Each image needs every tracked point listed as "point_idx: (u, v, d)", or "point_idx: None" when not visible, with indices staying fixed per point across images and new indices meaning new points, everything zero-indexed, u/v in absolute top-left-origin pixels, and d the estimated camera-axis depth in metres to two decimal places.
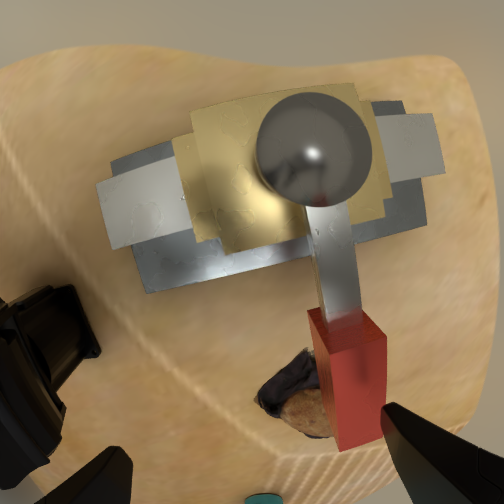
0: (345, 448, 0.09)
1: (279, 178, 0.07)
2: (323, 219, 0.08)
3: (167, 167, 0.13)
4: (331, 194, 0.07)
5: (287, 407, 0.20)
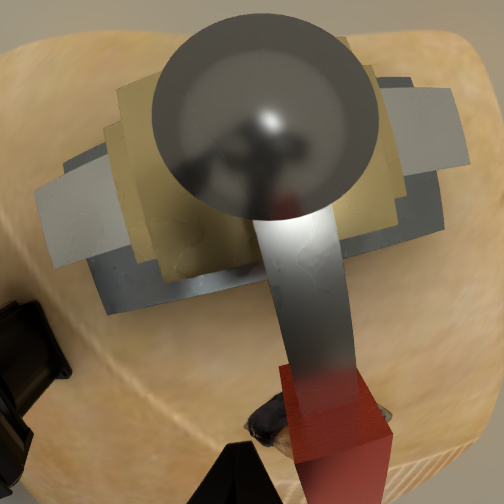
0: None
1: (192, 167, 0.04)
2: (287, 241, 0.04)
3: (106, 166, 0.09)
4: (298, 193, 0.04)
5: (281, 437, 0.17)
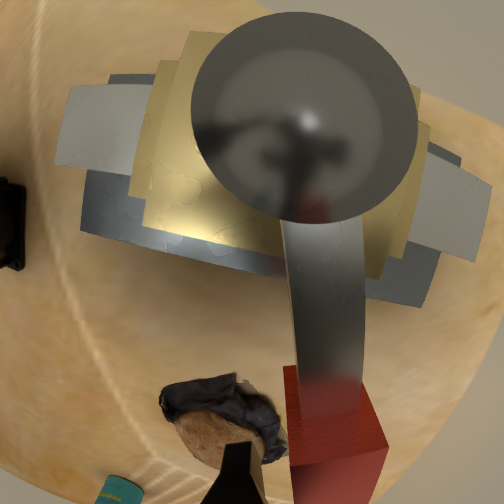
0: None
1: (227, 159, 0.04)
2: (313, 245, 0.04)
3: (146, 95, 0.09)
4: (332, 199, 0.04)
5: (185, 419, 0.17)
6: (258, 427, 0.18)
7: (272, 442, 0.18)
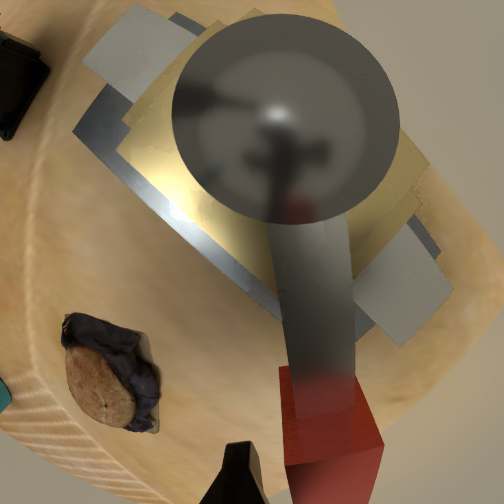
0: None
1: (208, 164, 0.04)
2: (298, 246, 0.04)
3: (189, 44, 0.08)
4: (313, 199, 0.04)
5: (77, 351, 0.16)
6: (137, 393, 0.17)
7: (142, 413, 0.17)
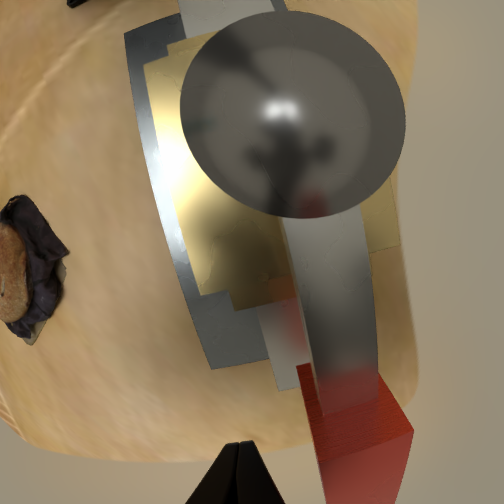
0: None
1: (223, 163, 0.04)
2: (316, 239, 0.04)
3: None
4: (330, 192, 0.04)
5: (8, 231, 0.14)
6: (34, 301, 0.15)
7: (28, 321, 0.15)
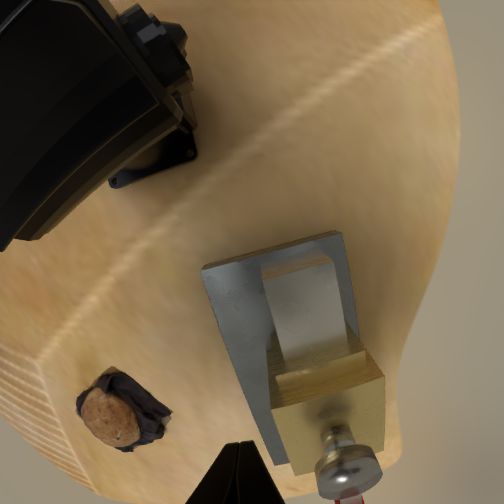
0: None
1: (328, 496, 0.10)
2: None
3: (338, 334, 0.14)
4: (353, 494, 0.10)
5: (114, 400, 0.20)
6: (140, 435, 0.21)
7: (134, 444, 0.21)
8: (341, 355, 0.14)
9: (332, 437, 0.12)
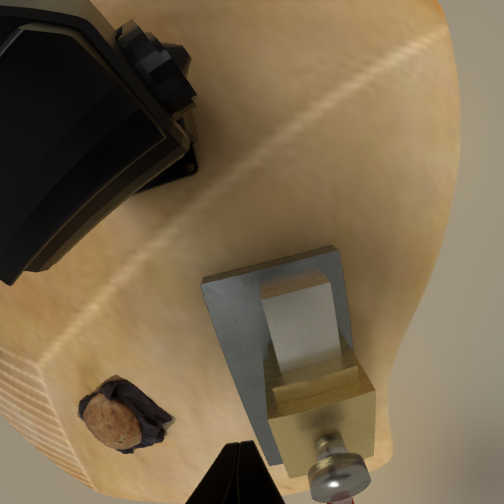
0: None
1: (320, 499, 0.10)
2: None
3: (332, 349, 0.15)
4: (343, 497, 0.10)
5: (118, 406, 0.20)
6: (141, 438, 0.22)
7: (134, 447, 0.22)
8: (335, 369, 0.14)
9: (325, 445, 0.13)
